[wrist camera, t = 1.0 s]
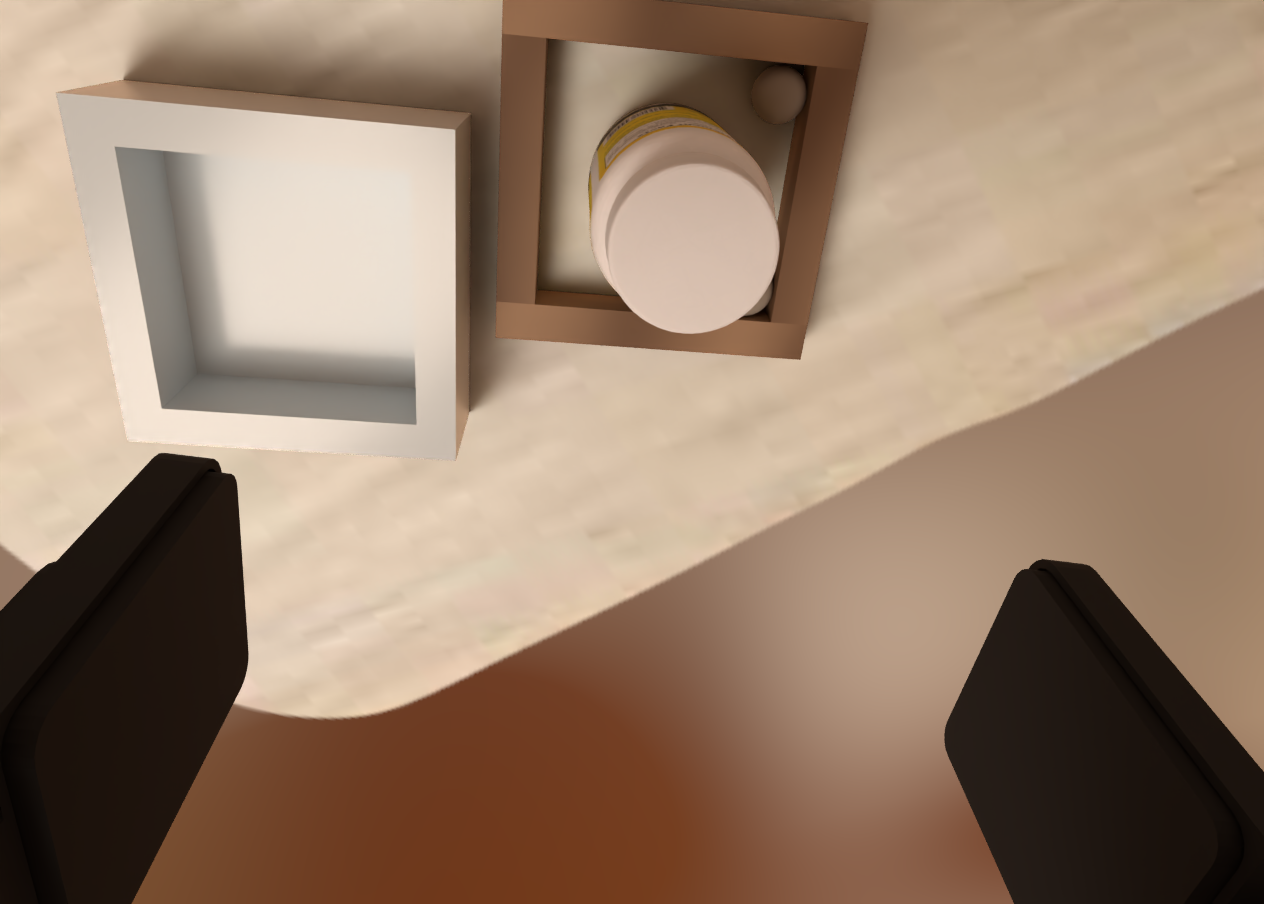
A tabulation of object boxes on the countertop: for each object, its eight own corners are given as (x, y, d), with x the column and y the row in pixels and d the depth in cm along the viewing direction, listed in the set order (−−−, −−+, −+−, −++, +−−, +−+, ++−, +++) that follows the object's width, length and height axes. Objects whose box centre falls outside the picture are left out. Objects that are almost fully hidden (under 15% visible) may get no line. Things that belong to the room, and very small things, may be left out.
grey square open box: (470, 112, 26) (455, 129, 23) (469, 413, 30) (455, 460, 27) (121, 79, 25) (56, 92, 22) (175, 394, 29) (127, 441, 26)
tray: (853, 21, 25) (871, 23, 23) (790, 343, 30) (802, 363, 28) (507, -17, 24) (502, -17, 22) (499, 321, 29) (494, 340, 27)
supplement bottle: (700, 278, 28) (740, 379, 21) (566, 225, 27) (558, 312, 20) (764, 137, 26) (834, 194, 19) (622, 73, 25) (637, 108, 18)
